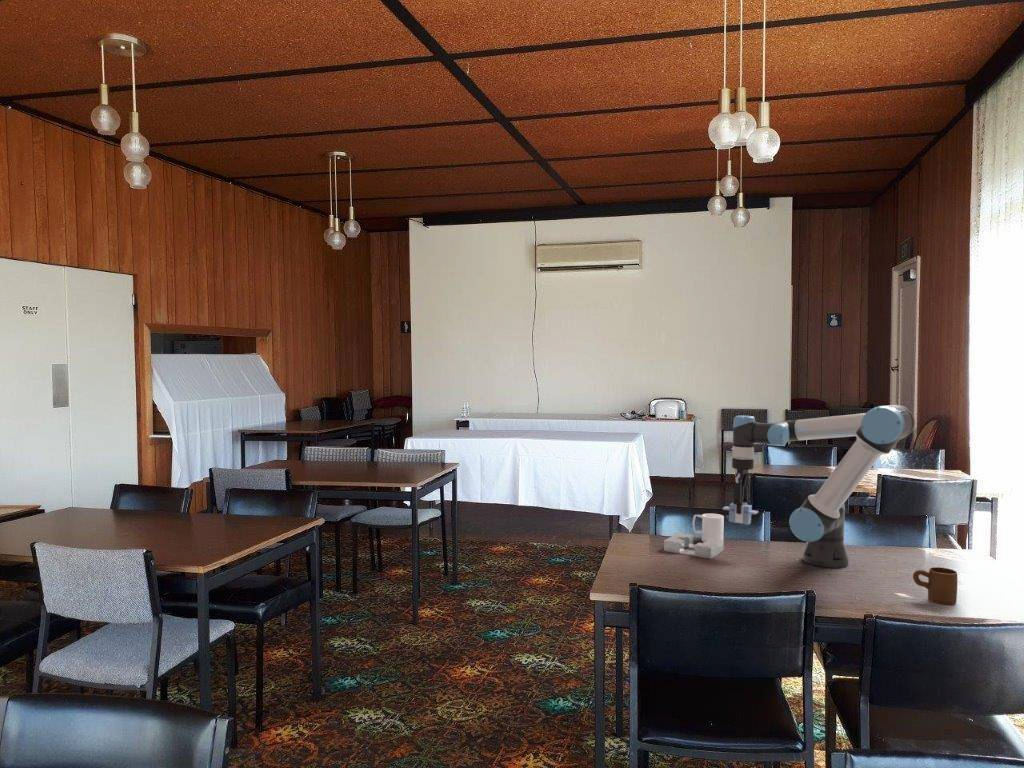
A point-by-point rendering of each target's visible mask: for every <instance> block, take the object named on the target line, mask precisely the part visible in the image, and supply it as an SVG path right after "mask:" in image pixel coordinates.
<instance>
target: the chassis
mask: <svg viewBox="0 0 1024 768" xmlns="http://www.w3.org/2000/svg"><path fill="white" fill-rule="evenodd" d="M724 541H725V539H723V540H721V539H715V538H708V537H707V538H706V539H704V541H702V542H698V543H696V544H695V543H694V534H687V533H680V532H677V533H675V534H673V535H672V536H670V537H668V538H666V539H664V541H663V552H669V553H675V554H680V555H687V556H693V557H698V558H699V557H700V558H703V559H704V558H705V559H710V560H711V559H713V558H715V556H717V555H718V554H720V553H722V552H723V551H724V546H725V545H724V543H725V542H724ZM685 548H687V549H685ZM689 549H693V550H689Z"/></svg>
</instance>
